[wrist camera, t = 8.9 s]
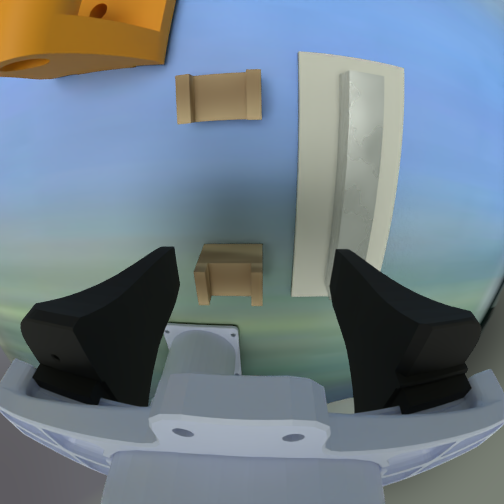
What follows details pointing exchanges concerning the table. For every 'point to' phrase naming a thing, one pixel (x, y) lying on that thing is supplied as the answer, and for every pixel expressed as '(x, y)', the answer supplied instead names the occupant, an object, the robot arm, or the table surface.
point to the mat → (325, 163)
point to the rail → (356, 164)
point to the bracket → (81, 36)
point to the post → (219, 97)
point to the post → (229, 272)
